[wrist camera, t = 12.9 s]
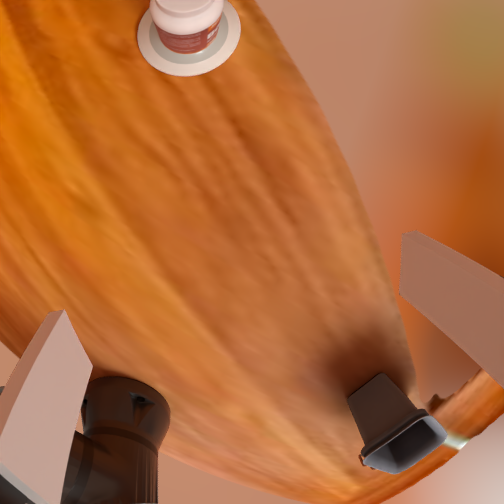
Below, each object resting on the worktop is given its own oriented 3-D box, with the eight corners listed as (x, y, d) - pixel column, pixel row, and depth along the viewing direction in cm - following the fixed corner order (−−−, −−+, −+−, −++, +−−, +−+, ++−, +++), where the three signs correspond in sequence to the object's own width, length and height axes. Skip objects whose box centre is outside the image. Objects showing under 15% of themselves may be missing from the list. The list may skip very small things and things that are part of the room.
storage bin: (420, 394, 57) (451, 437, 44) (365, 435, 59) (390, 481, 46) (387, 355, 49) (428, 411, 36) (318, 407, 51) (345, 469, 38)
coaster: (142, 85, 28) (141, 84, 27) (136, 0, 24) (135, -2, 23) (245, 69, 29) (246, 68, 29) (234, -14, 25) (235, -16, 24)
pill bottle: (217, 55, 28) (226, 21, 17) (158, 57, 27) (140, 25, 16) (219, 6, 25) (229, -42, 15) (161, 8, 24) (147, -39, 14)
